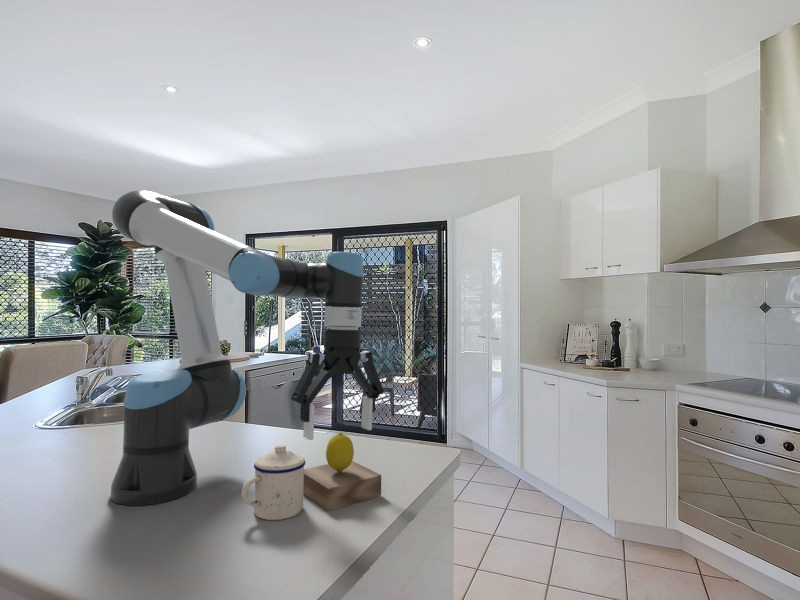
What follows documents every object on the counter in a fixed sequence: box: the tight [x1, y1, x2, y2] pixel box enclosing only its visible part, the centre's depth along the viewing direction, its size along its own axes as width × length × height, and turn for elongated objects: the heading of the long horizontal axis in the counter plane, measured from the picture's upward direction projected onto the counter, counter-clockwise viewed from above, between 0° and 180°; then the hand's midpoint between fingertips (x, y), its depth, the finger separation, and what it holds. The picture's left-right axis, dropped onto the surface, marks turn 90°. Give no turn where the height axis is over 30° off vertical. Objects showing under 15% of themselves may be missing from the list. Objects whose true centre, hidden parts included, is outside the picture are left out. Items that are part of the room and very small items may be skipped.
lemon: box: [325, 432, 355, 473], centre depth 90 cm, size 6×6×8 cm
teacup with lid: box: [240, 444, 306, 521], centre depth 80 cm, size 12×9×12 cm
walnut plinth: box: [303, 460, 382, 512], centre depth 90 cm, size 12×12×4 cm
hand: (338, 433), depth 90 cm, fingers open, 13 cm apart
